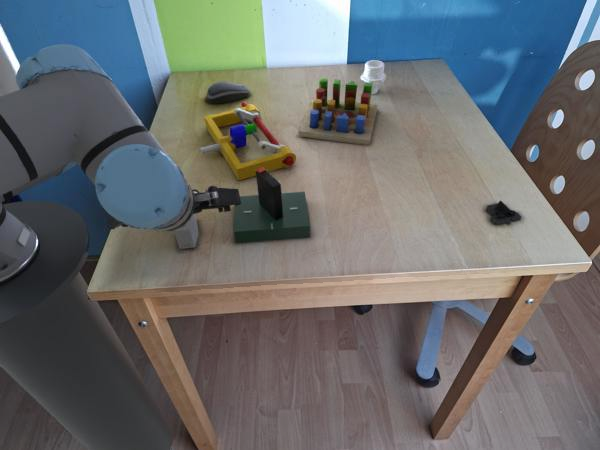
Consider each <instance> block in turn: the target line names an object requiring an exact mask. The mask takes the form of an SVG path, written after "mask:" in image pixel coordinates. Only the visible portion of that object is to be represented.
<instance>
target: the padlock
mask: <svg viewBox="0 0 600 450" xmlns="http://www.w3.org/2000/svg"><path fill="white" fill-rule="evenodd" d="M173 233H174V236H175V240H176V243H177V245H178V248H179V250H185V249H193V248H196V246H197V242H198V238H199V234H200V232H199V228H198V222H197V219H196V214H193V215H192V217H191V218H190V220H189V221H188V222H187V223H186V224H185V225H183V226H182V227H180V228H178V229H175V230H173Z"/></svg>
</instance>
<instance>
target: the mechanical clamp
mask: <svg viewBox="0 0 600 450" xmlns="http://www.w3.org/2000/svg"><path fill="white" fill-rule="evenodd" d="M240 106H241V107H235V108H234V109H230V110H225V111H222V112H217V113H213V114H209V115H206V116H204V117H203V118H204V123H205V128H206V130H207V131H208V133H209V135H210V136H211V137H212V139H213V141H214V144H210V145H207V146H203V147H200V153H201V155H206V154H209V153H213V152H217V151H219V152H220V153H221V155H223V158H224V160H226V162H227V164H228V166H229V167H230V169H231V170H232V172H233V174H234V175H235V177H236V179H237V180H238V181H242V180H245V179H248V178H252V177H256V170H257V169H259V168H262V167H263V168H264V169H265V170H266V171H267V172H268V173H270V172H273V171H276V170H279V169H282V168H290V167H292V166H293V165H294V164H295V163H296V161H297V156H296V154H295V153H294V151H292V150H291V148H290V147H289V146H286V145H285V144H282V143H280V142H279V141H278V140H277V139H276V137H275V136H274V135H273V134H272V133H271V131H270V130H269V128H268V127H266V125H265V124H264V122H263V121H262V116H261V112H260V110H259V109H258V108H257V107H256V105H254V104H251V103H249V104H248V103H247V101H242V102H241V103H240ZM237 123H243V124H239V125H235V126H230V127H229V135H226V136H224V134H223V133H222V131H221V129H220V128H222V127H226V126H229V125H234V124H237ZM258 129H259V130H260V131H261V133H262V134H263V136H265V138H266V139H267V140H268V141H265V140H262V139H261V138H260V137H259V136H258V135H257V133H258ZM251 135H252V136H253V137H254V139H255V140H256V142H257V146H258V148H260V150H262V151H265V152H268V153H272V154H271V155H266V156H264V157H263V156H262V157H260V158H257V159H253V160H250V161H245V162H242V163H241V161H240V160H239V158H238V156H237V155H236V153H235V151H236V150H237V149H241V148H245V147H247V144H248V141H247V139H248V138H247V136H251Z"/></svg>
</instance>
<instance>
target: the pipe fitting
mask: <svg viewBox="0 0 600 450" xmlns="http://www.w3.org/2000/svg"><path fill="white" fill-rule="evenodd" d="M386 79H387V74H386V73H385V63H384V62H383V61H381V60H377V59H370V60H367V61H366V62H365V63H364V71H363V73H362V74H361V75H360V80H361V81H363V82H364V83H365V82H367V83H373V85H372V92H371V95H375V94H377V93H378V91H379V84H383V83H384V82H385V80H386Z"/></svg>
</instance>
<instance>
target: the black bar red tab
mask: <svg viewBox="0 0 600 450" xmlns="http://www.w3.org/2000/svg"><path fill="white" fill-rule="evenodd" d="M255 177H256V178H255V179H256V186H257V195H258V197H259V204H260V205H261V206H262V207H263V208H264V209H265V210H266V211H267V212H268V213H269V214H270V215H271V216H272V217H273V218H274V219H275V220H278V219H280V218H282V217H283V211H282V194H281V193H282V184H281V182H279V181H278V179H276V178H275V177H274V176H273V175H272V174H271V173H270V172H267V171H266V170H265V169H264V168H263V167H262V168H259V169H257V170H256V176H255Z"/></svg>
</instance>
